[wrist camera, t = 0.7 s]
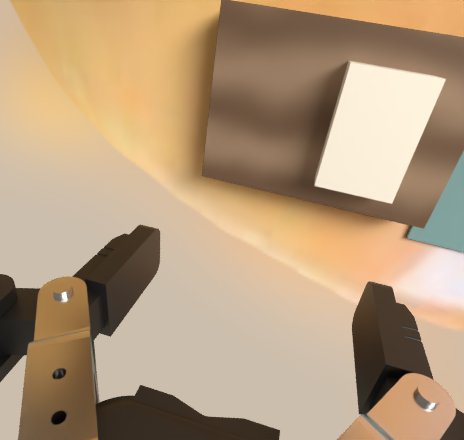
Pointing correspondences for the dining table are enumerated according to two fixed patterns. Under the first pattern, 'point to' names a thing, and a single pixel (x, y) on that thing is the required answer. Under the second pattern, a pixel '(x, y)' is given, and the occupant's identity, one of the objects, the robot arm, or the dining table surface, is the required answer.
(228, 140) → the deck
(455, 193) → the mat
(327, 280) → the dining table surface
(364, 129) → the tile
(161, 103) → the dining table surface
